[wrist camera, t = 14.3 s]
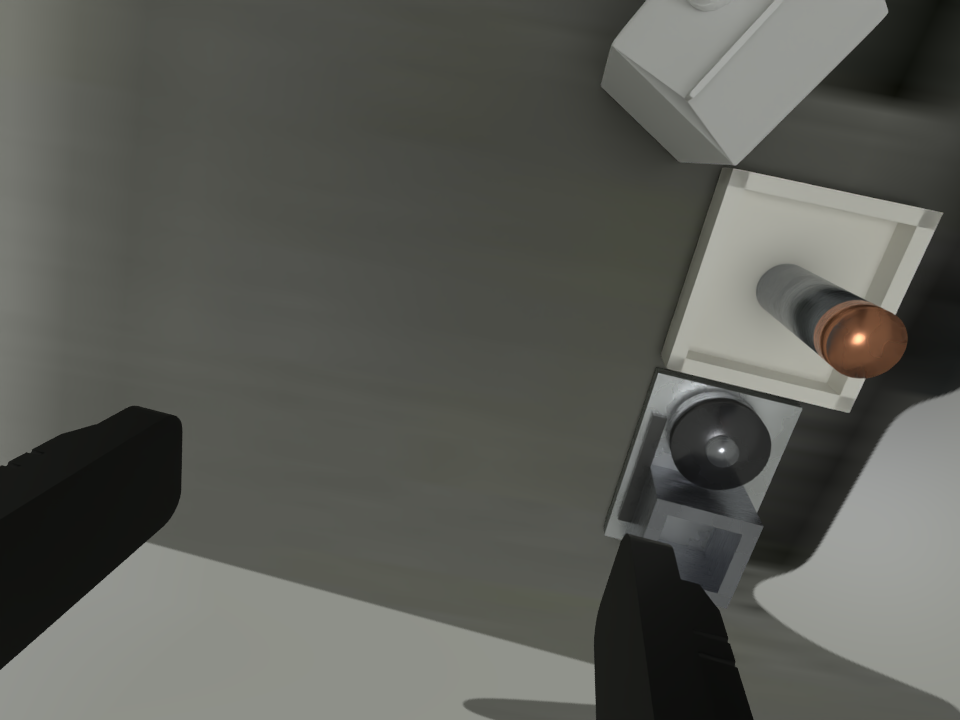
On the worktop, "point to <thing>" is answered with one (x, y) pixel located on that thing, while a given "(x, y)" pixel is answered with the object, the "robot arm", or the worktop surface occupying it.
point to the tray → (786, 240)
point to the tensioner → (701, 475)
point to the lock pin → (833, 321)
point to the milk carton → (728, 67)
